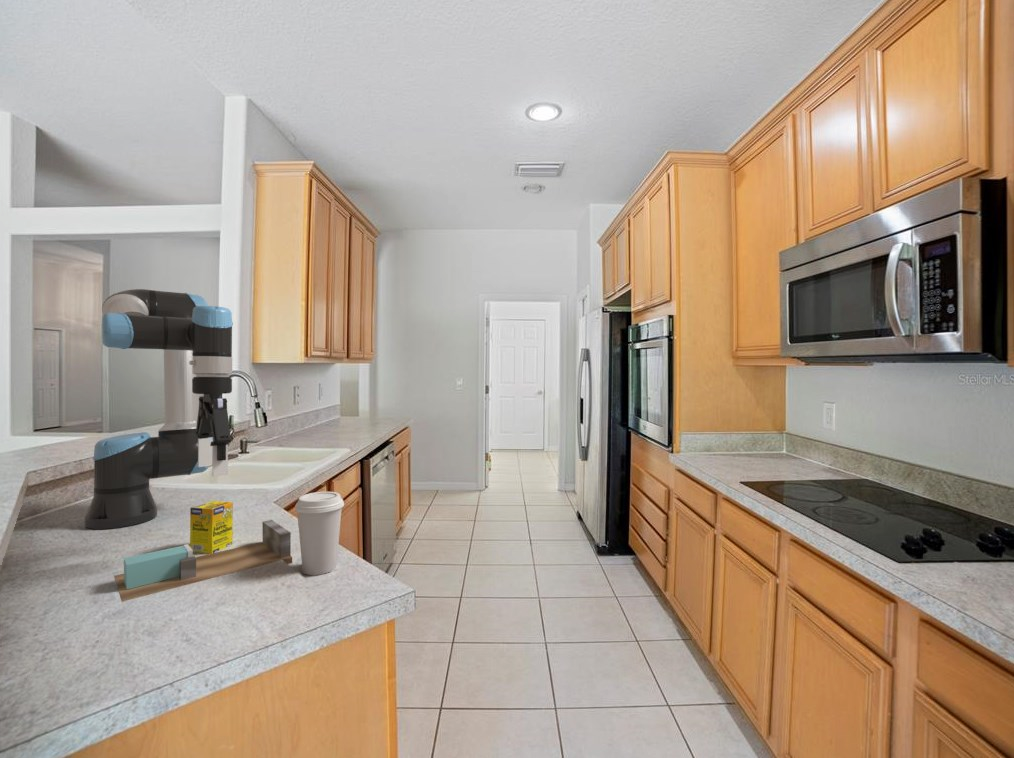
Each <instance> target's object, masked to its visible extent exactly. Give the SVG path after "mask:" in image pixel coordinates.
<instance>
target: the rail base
mask: <svg viewBox="0 0 1014 758" xmlns="http://www.w3.org/2000/svg"><path fill="white" fill-rule="evenodd" d="M291 534H292V533H291V532H290V531H289V530H288V529H286V528H285V527H284V526H282V525H280V523H277V522H276V521H275V520H273V519H269V520H265V521H262V541H261V542H256V543H252V544H247V545H243V546H238V547H235V548H229V549H226V550H221V551H220V550H219V551H217V552H215V553H212V554H209V553H206V554H204V555H199V556H195V555H193V557H188V558H184V559H179V577H175V578H171V579H167V580H163V581H159V582H155V583H151V584H147V585H143V586H139V587H135V588H131V589H126V586H125V583H124V573H120V574H116V575H114V579H115V582H116V585H117V589H118V592H119V595H120V600H121V602H126V601H130V600H134V599H138V598H142V597H146V596H150V595H153V594H157V593H161V592H165V591H168V590H172V589H177V588H180V587H185V586H187V585H191V584H195V583H199V582H203V581H206V580H210V579H215V578H217V577H218V578H219V577H222V576H226V575H230V574H233V573H237V572H240V571H245V570H249V569H253V568H257V567H260V566H264V565H268V564H272V563H275V562H279V561H283V562H285V564H287V565H288V564H292V563H293V556H291V547H292V545H291V543H292V541H291V539H292V538H291V537H292V535H291Z"/></svg>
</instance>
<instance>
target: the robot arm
mask: <svg viewBox="0 0 1014 758" xmlns="http://www.w3.org/2000/svg"><path fill="white" fill-rule="evenodd" d="M101 310H102V311H101V313H102V318H101V341H102V346H104V347H107V348H116V349H121V350H126V349H134V350H135V349H137V350H138V349H141V350H163V385H164V388H163V389H164V394H163V395H164V425H163V426H161V427H160V428H159V429H158V432H157V433H158V435H157V436H152V437H151V434H150V433H149V432H144V431H143V432H142V431H141V432H134V433H127V434H126V433H125V434H121V435H120V434H119V435H115V436H111V437H107V438H106V437H105V438H104V439H100V440H99V441H97V442H96V443H95V444H94V451H93V458H92V460H93V467H94V468H93V497H92V500H91V502H90V505H89V507H88V510H87V512H86V514H85V517H84V527H85V528H87V529H92V530H108V529H117V528H118V529H119V528H124V527H131V526H135V525H139V524H142V523H146V522H148V521H151V520H153V519H155V518H157V516H158V506H157V504H156V501H155V498H153V495H152V492H151V490H150V489H151V488H150V480H152V479H162V478H168V477H169V478H171V477H177V476H178V477H179V476H191V475H193V474H200V473H201V474H202V473H204V472H205V471H207V470H208V468H210V467H212V468H211V469H212V472H211V473H212V475H211V476H212V477H213V478H214V477H220V476H228V475H229V443H231V442H232V437H231V429H230V422H229V420H230V419H229V415H228V413H229V411H228V400H227V398H223V396H222V395H225V394H231V393H232V392H233V378H232V377H230V375H232V374H233V355H232V354H233V352H232V351H233V324H234V322H233V317H232V315H233V313H232V311H231V310H230V308H226V307H223V306H216V305H215V306H214V305H208V302H207V301H206V299H205V298H204V297H202V296H201V295H198V294H190V293H187V292H182V293H181V292H176V291H175V292H173V291H162V290H161V291H160V290H152V289H145V288H143V289H142V288H139V289H138V288H136V289H127V290H122V291H118V292H115V293H113V294H111V295H109V296H108V297H107V298H106V299H105V300H104V302H103V304H102V308H101ZM200 395H202V396H200Z"/></svg>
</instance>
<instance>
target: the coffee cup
mask: <svg viewBox="0 0 1014 758" xmlns="http://www.w3.org/2000/svg"><path fill="white" fill-rule="evenodd" d="M344 506H345V501H344V499H343V498H342V496H341V494H340V493H339V492H335V491H317V492H316V491H315V492H310V493H306V494H305V493H304V494H303V495H301V496H299V497H298V500H297V502H296V503H295V505H294V511H295V512H296V513H297V522H298V523H297V524H298V533H299V534H298V535H299V545H300V554H301V566H302V568H301V569H302V573H303V574H305V575H307V576H319V575H320V574H321V575H325V573H326V574H328V572H329V573H331V572H333V571H335V570H336V568H337V564H338V563H337V562H338V552H339V541H340V540H339V539H340V531H341V518H342V509H343V507H344ZM332 570H333V571H332Z"/></svg>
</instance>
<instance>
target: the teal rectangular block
mask: <svg viewBox="0 0 1014 758" xmlns="http://www.w3.org/2000/svg"><path fill="white" fill-rule="evenodd" d="M193 556H194V552H193V550H192V549H191V547H190V544H188V543H187V544H183V545H180V546H175V547H170V548H166V549H161V550H157V551H152V552H147V553H142V554H138V555H137V554H136V555H132V556H128V557H123V574H124V583H125V586H126V589H131V588H135V587H139V586H143V585H147V584H151V583H155V582H159V581H163V580H167V579H171V578H175V577H179V559H184V558H188V557H193Z"/></svg>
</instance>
